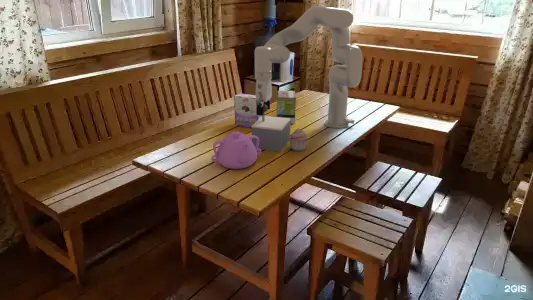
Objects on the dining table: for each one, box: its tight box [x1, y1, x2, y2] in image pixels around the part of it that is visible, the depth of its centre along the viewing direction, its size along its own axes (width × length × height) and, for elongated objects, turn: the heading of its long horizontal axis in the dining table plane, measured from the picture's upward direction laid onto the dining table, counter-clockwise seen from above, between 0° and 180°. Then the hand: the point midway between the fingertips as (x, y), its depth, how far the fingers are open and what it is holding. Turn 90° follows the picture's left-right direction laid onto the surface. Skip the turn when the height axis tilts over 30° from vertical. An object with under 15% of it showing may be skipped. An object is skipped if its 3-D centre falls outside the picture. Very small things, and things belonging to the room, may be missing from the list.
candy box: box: [233, 92, 262, 129], centre depth 216 cm, size 14×6×16 cm, turn 65°
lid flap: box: [251, 104, 291, 131], centre depth 190 cm, size 14×16×9 cm
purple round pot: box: [210, 130, 262, 170], centre depth 171 cm, size 22×22×14 cm
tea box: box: [276, 90, 297, 125], centre depth 226 cm, size 15×10×15 cm
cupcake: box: [288, 127, 310, 152], centre depth 188 cm, size 9×9×10 cm
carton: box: [251, 120, 291, 153], centre depth 194 cm, size 14×16×10 cm
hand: (263, 112), depth 191 cm, fingers open, 9 cm apart
